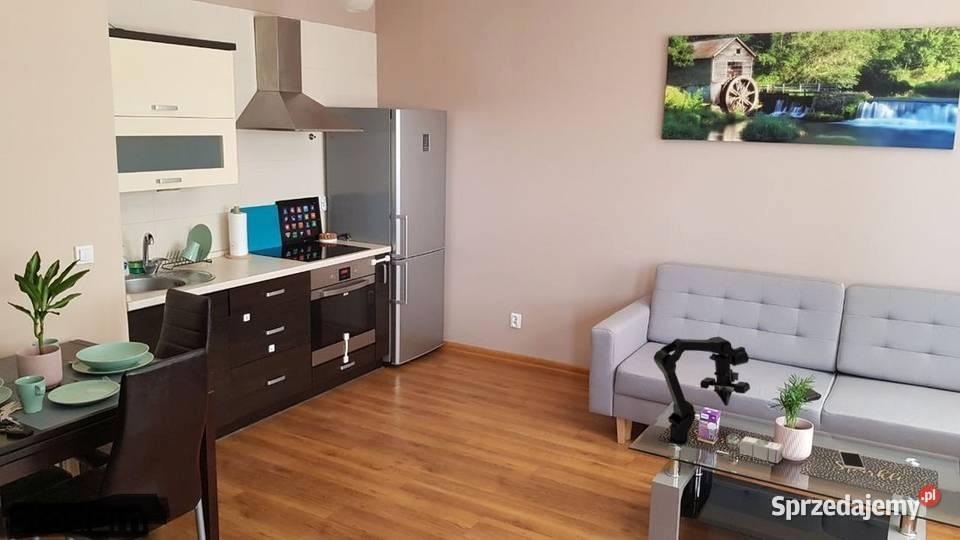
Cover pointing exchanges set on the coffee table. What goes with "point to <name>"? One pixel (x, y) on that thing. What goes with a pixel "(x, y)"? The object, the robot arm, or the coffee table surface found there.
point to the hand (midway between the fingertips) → (726, 405)
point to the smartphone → (851, 460)
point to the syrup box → (761, 449)
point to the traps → (727, 457)
